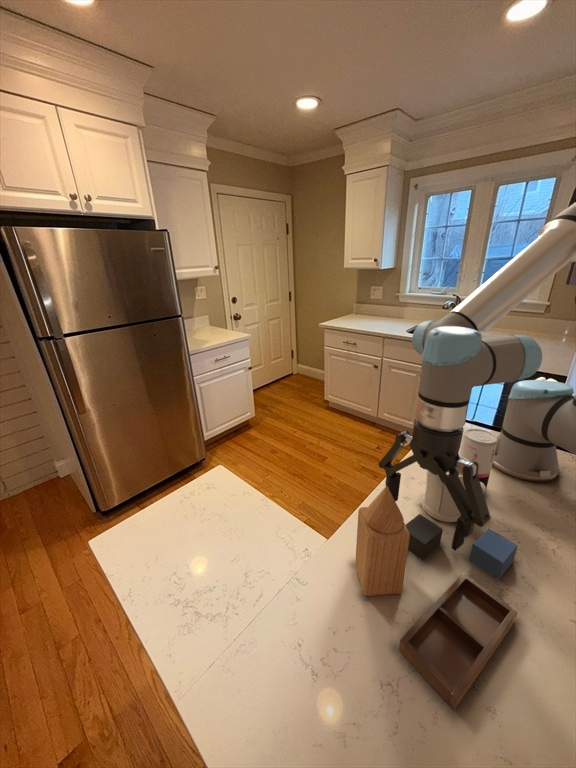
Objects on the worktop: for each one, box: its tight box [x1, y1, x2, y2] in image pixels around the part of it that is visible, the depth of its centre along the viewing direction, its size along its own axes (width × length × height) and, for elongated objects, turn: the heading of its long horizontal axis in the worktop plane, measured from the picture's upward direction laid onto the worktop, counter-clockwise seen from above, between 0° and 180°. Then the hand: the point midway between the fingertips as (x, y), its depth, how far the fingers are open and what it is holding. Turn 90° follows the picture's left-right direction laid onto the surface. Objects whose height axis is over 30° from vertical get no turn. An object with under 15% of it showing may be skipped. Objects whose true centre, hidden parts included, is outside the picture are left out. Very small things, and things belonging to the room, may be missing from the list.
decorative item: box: [354, 485, 410, 597], centre depth 53 cm, size 7×7×20 cm
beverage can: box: [459, 428, 498, 496], centre depth 74 cm, size 6×7×15 cm
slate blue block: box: [468, 527, 519, 580], centre depth 58 cm, size 6×5×4 cm
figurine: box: [535, 376, 558, 382], centre depth 130 cm, size 5×8×8 cm
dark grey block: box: [405, 513, 444, 561], centre depth 62 cm, size 6×5×4 cm
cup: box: [420, 454, 487, 523], centre depth 69 cm, size 10×9×12 cm
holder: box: [398, 572, 519, 710], centre depth 47 cm, size 17×8×2 cm, turn 126°
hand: (421, 522), depth 61 cm, fingers open, 13 cm apart
